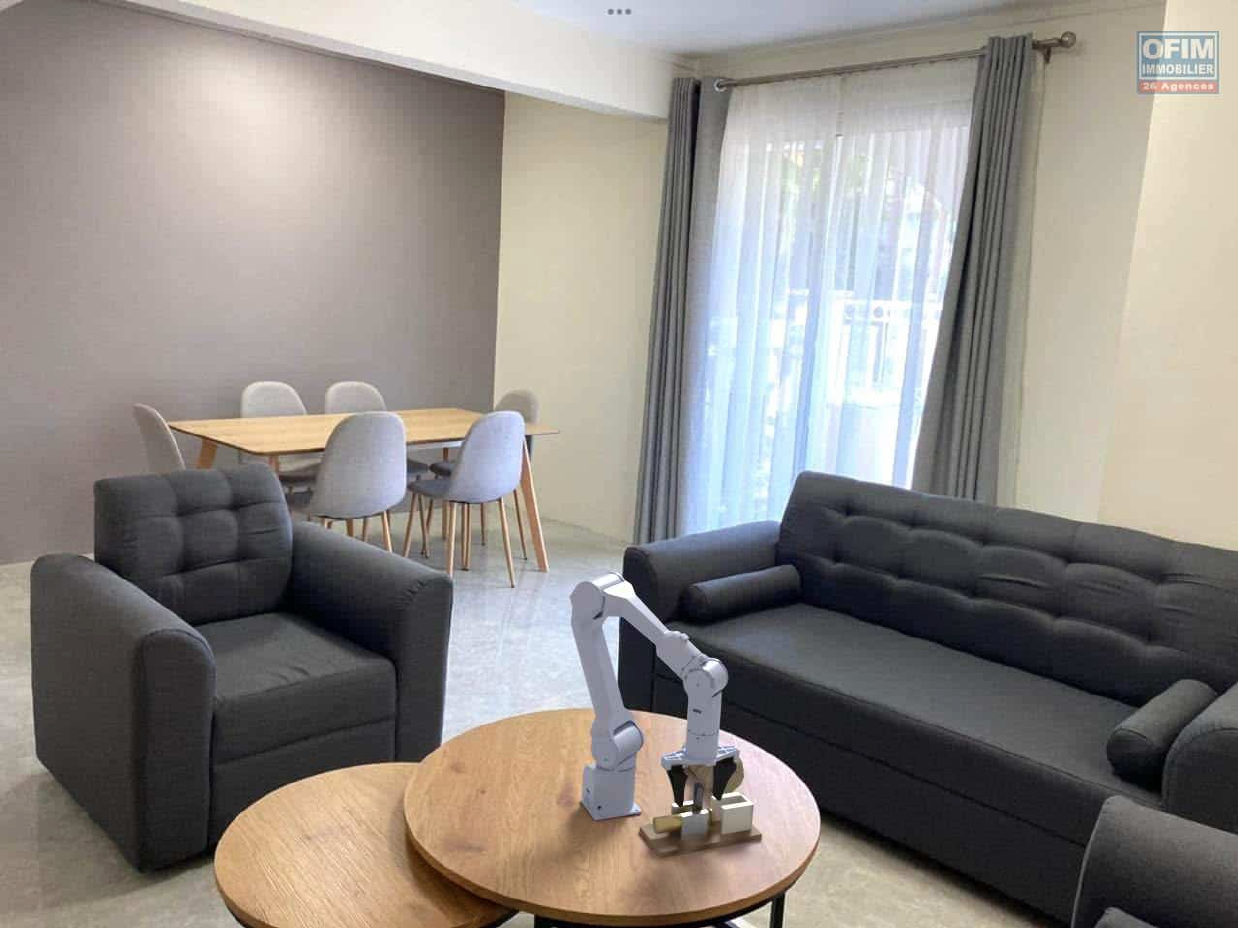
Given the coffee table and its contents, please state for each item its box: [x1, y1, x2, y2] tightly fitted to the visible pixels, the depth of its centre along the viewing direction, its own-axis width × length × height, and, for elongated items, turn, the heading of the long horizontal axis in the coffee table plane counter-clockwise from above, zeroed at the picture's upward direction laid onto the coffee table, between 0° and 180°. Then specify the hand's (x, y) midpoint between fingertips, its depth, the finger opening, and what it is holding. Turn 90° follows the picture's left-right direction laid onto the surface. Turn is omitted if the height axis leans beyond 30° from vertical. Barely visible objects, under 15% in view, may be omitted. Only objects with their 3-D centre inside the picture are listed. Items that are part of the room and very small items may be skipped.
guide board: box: [638, 800, 763, 859], centre depth 178 cm, size 20×9×6 cm, turn 112°
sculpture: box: [680, 741, 745, 794], centre depth 198 cm, size 9×17×10 cm
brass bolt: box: [652, 780, 715, 834], centre depth 176 cm, size 11×3×9 cm, turn 112°
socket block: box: [709, 791, 754, 834], centre depth 180 cm, size 6×5×5 cm
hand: (697, 801), depth 177 cm, fingers open, 7 cm apart
